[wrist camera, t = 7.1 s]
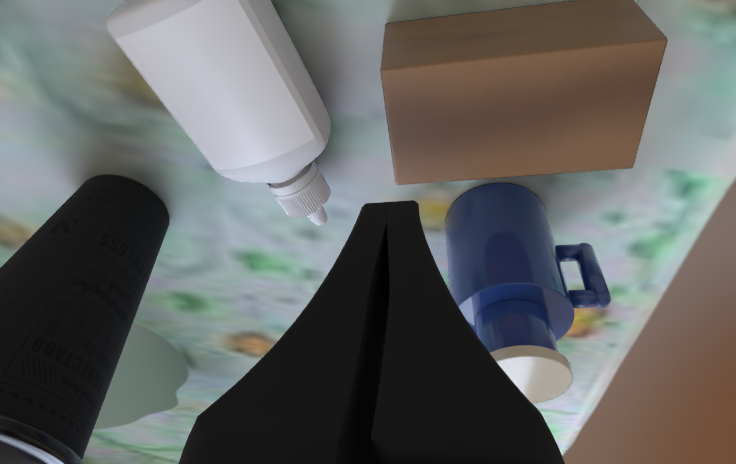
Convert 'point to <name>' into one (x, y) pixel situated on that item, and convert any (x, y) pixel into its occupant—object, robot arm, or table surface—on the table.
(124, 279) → the drinking cup
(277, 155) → the eye dropper bottle
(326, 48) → the table surface
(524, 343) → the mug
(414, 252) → the robot arm
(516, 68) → the oak block
